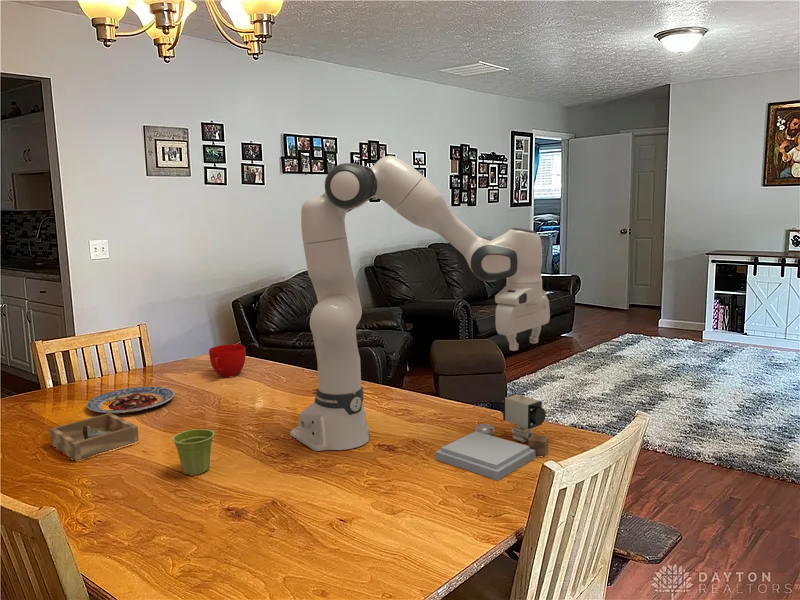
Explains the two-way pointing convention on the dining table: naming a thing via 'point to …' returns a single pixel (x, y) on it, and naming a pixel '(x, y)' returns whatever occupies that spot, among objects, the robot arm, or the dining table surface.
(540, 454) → the walnut block
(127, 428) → the rock tray
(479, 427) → the grey metal bushing
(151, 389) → the ceramic plate
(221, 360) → the ceramic cup
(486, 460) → the stand
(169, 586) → the dining table surface
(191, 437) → the plant pot
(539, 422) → the pneumatic valve
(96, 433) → the rock sample
